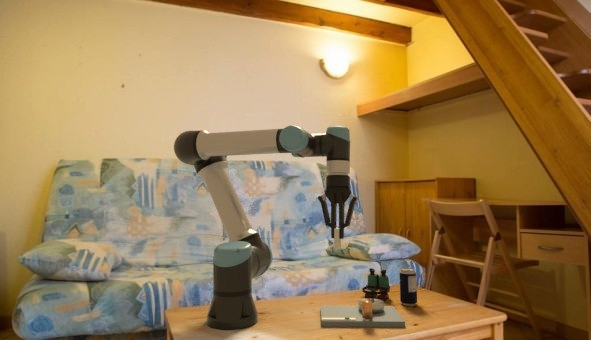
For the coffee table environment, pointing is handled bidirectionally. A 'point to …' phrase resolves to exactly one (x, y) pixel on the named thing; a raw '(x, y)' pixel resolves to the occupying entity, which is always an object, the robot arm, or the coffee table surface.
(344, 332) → the coffee table surface
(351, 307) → the level board
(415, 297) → the beverage can
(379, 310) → the cam lever
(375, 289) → the binoculars
